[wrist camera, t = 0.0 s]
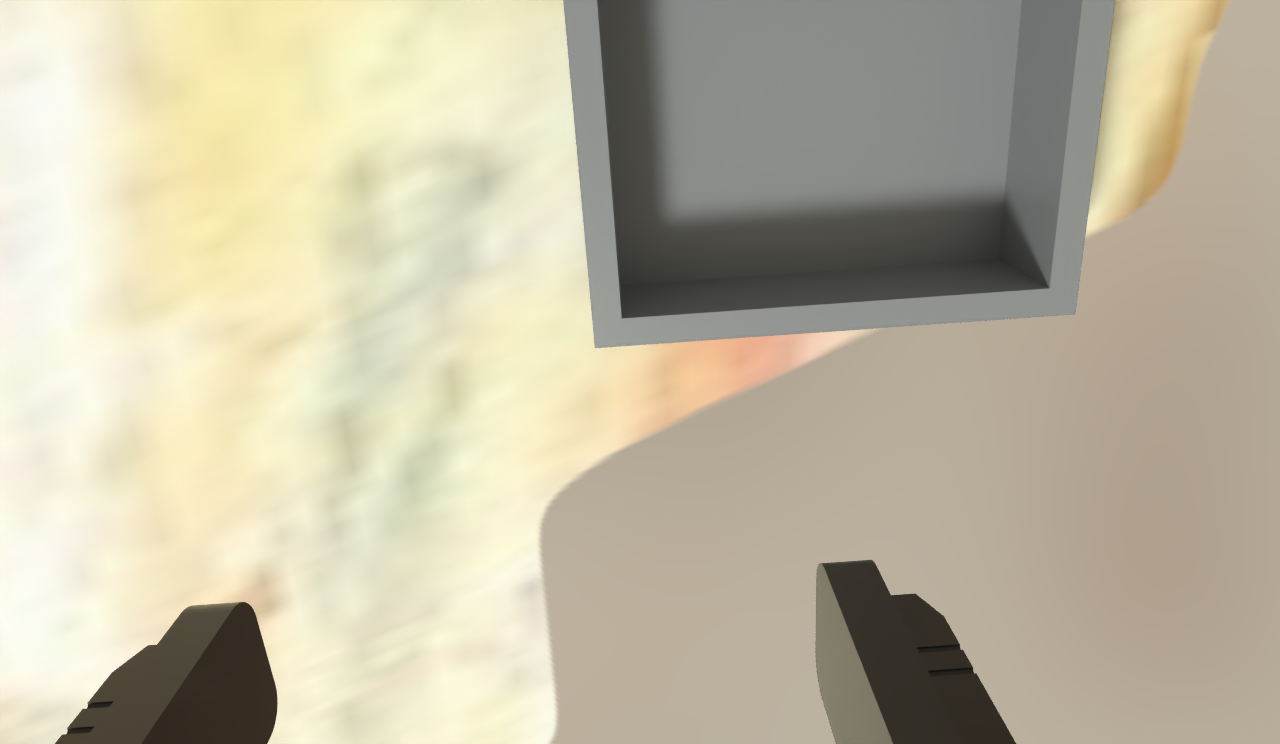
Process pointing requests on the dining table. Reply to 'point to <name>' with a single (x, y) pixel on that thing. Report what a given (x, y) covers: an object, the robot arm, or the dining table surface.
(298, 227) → the dining table surface
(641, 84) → the bin
